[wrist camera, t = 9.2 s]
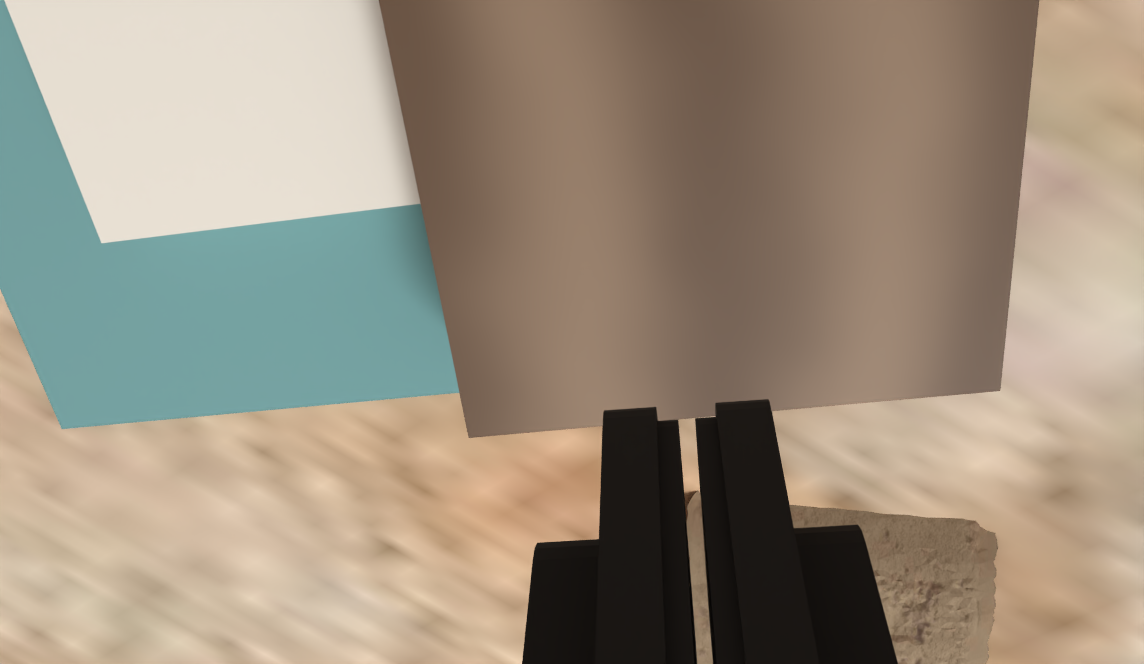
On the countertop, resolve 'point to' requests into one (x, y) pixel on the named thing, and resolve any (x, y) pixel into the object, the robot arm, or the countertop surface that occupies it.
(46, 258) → the mat
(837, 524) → the clay tablet
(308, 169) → the tile
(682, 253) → the brown flat block
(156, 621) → the countertop surface
